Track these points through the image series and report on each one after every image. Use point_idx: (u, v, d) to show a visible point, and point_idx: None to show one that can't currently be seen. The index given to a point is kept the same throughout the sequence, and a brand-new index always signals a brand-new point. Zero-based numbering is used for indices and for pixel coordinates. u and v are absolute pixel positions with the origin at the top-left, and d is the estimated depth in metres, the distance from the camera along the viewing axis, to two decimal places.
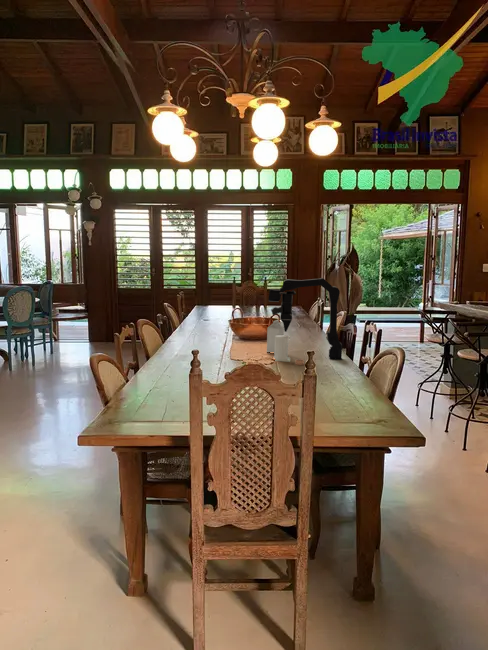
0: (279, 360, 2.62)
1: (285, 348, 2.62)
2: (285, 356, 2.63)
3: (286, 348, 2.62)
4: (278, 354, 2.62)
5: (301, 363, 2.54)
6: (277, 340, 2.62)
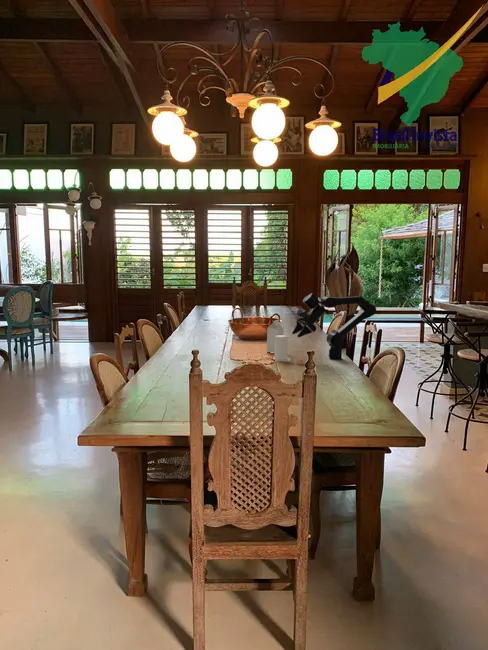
0: (279, 360, 2.62)
1: (285, 348, 2.62)
2: (285, 356, 2.63)
3: (286, 348, 2.62)
4: (278, 354, 2.62)
5: (301, 363, 2.54)
6: (277, 340, 2.62)
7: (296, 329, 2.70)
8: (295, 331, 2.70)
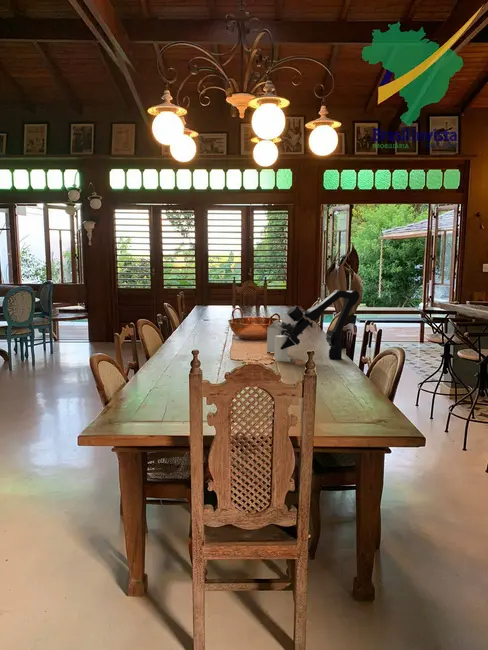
0: (279, 360, 2.62)
1: (285, 348, 2.62)
2: (285, 356, 2.63)
3: (286, 348, 2.62)
4: (278, 354, 2.62)
5: (301, 363, 2.54)
6: (277, 340, 2.62)
7: None
8: None
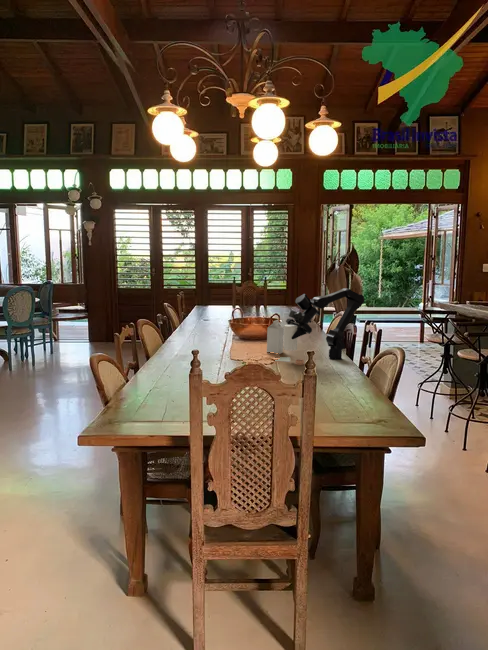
0: (279, 360, 2.62)
1: None
2: (295, 346, 2.57)
3: None
4: (289, 344, 2.55)
5: (301, 363, 2.54)
6: (287, 330, 2.54)
7: None
8: None
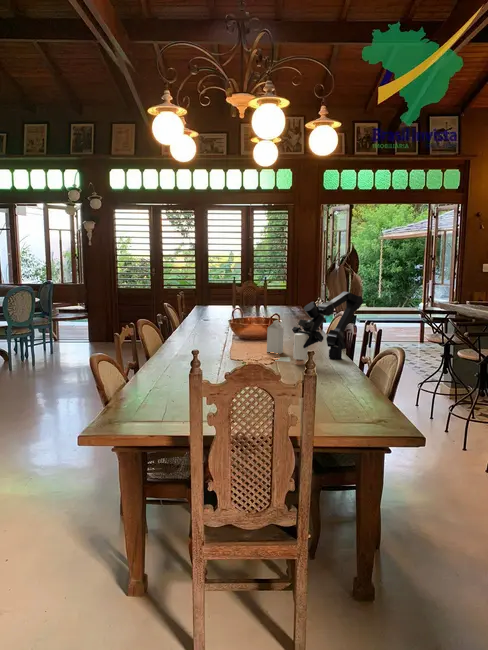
0: (279, 360, 2.62)
1: None
2: (306, 354, 2.53)
3: None
4: (300, 353, 2.51)
5: (301, 363, 2.54)
6: (299, 339, 2.50)
7: None
8: None
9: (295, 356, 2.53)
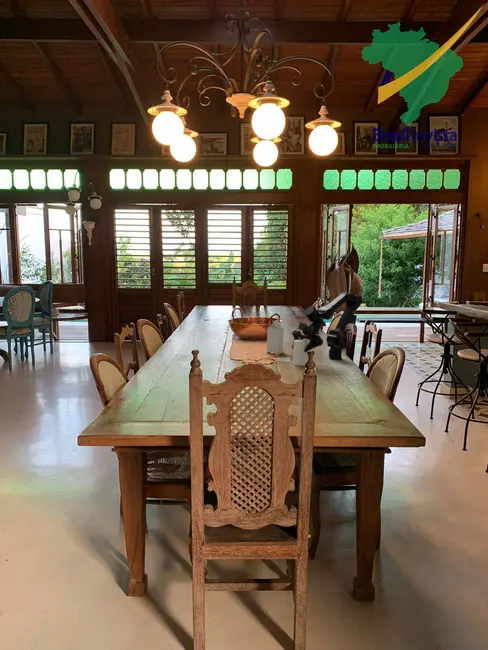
0: (279, 360, 2.62)
1: (306, 353, 2.53)
2: None
3: (306, 353, 2.54)
4: (300, 359, 2.52)
5: None
6: (299, 345, 2.51)
7: None
8: None
9: (295, 362, 2.54)
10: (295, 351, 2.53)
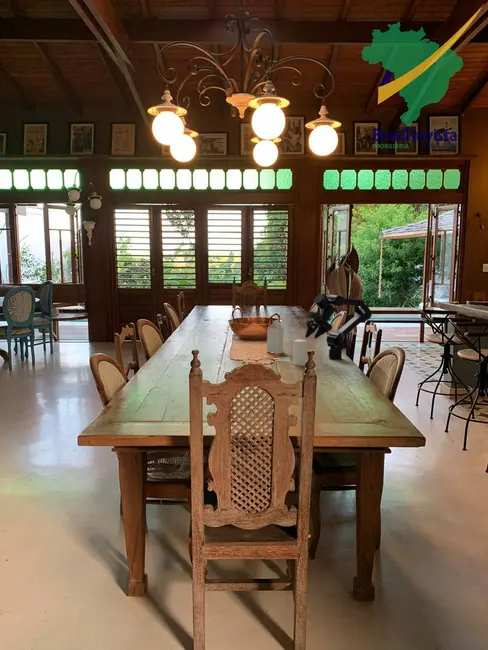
0: (279, 360, 2.62)
1: (306, 353, 2.53)
2: None
3: (306, 353, 2.54)
4: (300, 359, 2.52)
5: None
6: (299, 345, 2.51)
7: (308, 332, 2.65)
8: (308, 334, 2.65)
9: (295, 362, 2.54)
10: (295, 351, 2.53)
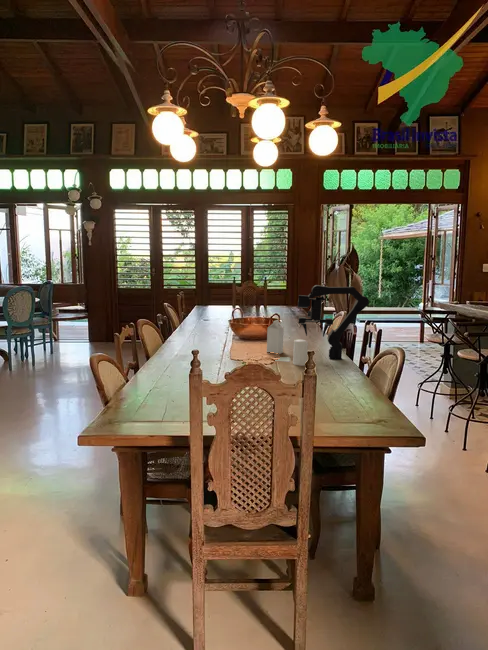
0: (279, 360, 2.62)
1: (306, 353, 2.53)
2: None
3: (306, 353, 2.54)
4: (300, 359, 2.52)
5: None
6: (299, 345, 2.51)
7: (323, 330, 2.71)
8: (323, 332, 2.71)
9: (295, 362, 2.54)
10: (295, 351, 2.53)
